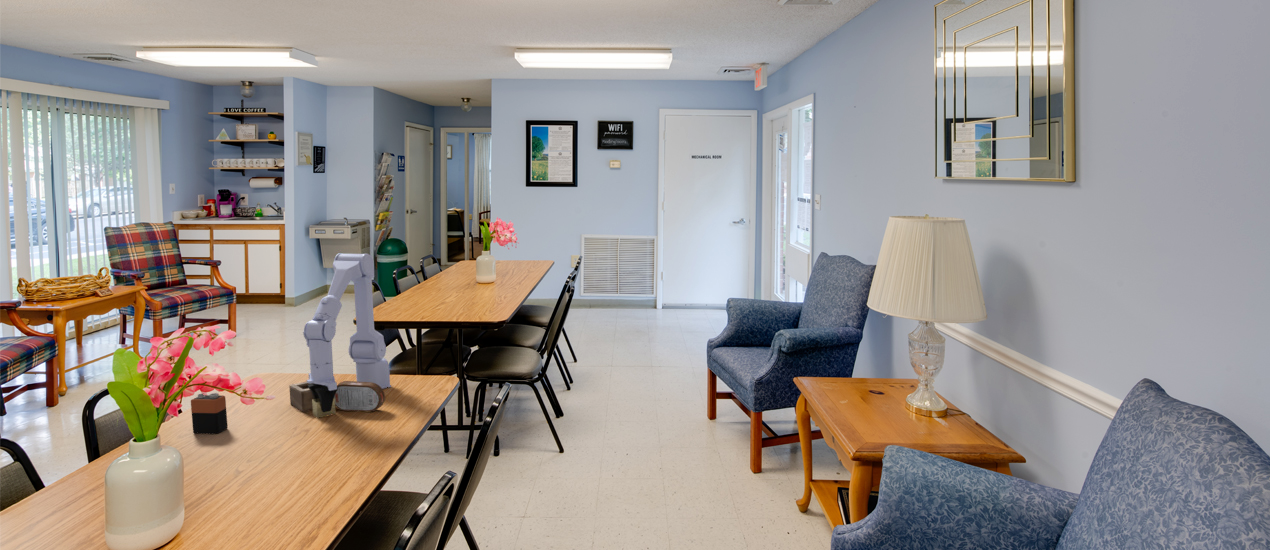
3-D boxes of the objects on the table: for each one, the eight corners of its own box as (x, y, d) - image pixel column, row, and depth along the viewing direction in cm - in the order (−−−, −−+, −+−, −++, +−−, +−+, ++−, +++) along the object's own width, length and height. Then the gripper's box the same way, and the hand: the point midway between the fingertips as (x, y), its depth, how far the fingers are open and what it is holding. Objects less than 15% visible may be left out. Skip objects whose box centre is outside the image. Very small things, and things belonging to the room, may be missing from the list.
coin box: (325, 397, 207) (324, 378, 206) (337, 404, 201) (336, 384, 200) (290, 404, 200) (289, 384, 199) (302, 412, 194) (301, 391, 193)
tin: (386, 410, 196) (384, 381, 195) (381, 413, 193) (379, 384, 192) (336, 408, 198) (334, 379, 197) (330, 411, 195) (328, 382, 194)
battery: (218, 434, 177) (215, 397, 175) (192, 433, 177) (189, 396, 175) (228, 428, 181) (225, 391, 180) (203, 427, 181) (200, 391, 180)
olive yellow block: (331, 411, 195) (330, 395, 194) (335, 413, 193) (334, 398, 192) (312, 415, 191) (312, 399, 191) (317, 418, 189) (316, 402, 188)
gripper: (296, 360, 192) (299, 407, 194) (317, 370, 182) (319, 419, 184) (322, 355, 197) (324, 401, 199) (343, 365, 187) (346, 413, 189)
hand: (324, 409), depth 192 cm, fingers closed on olive yellow block, 3 cm apart
